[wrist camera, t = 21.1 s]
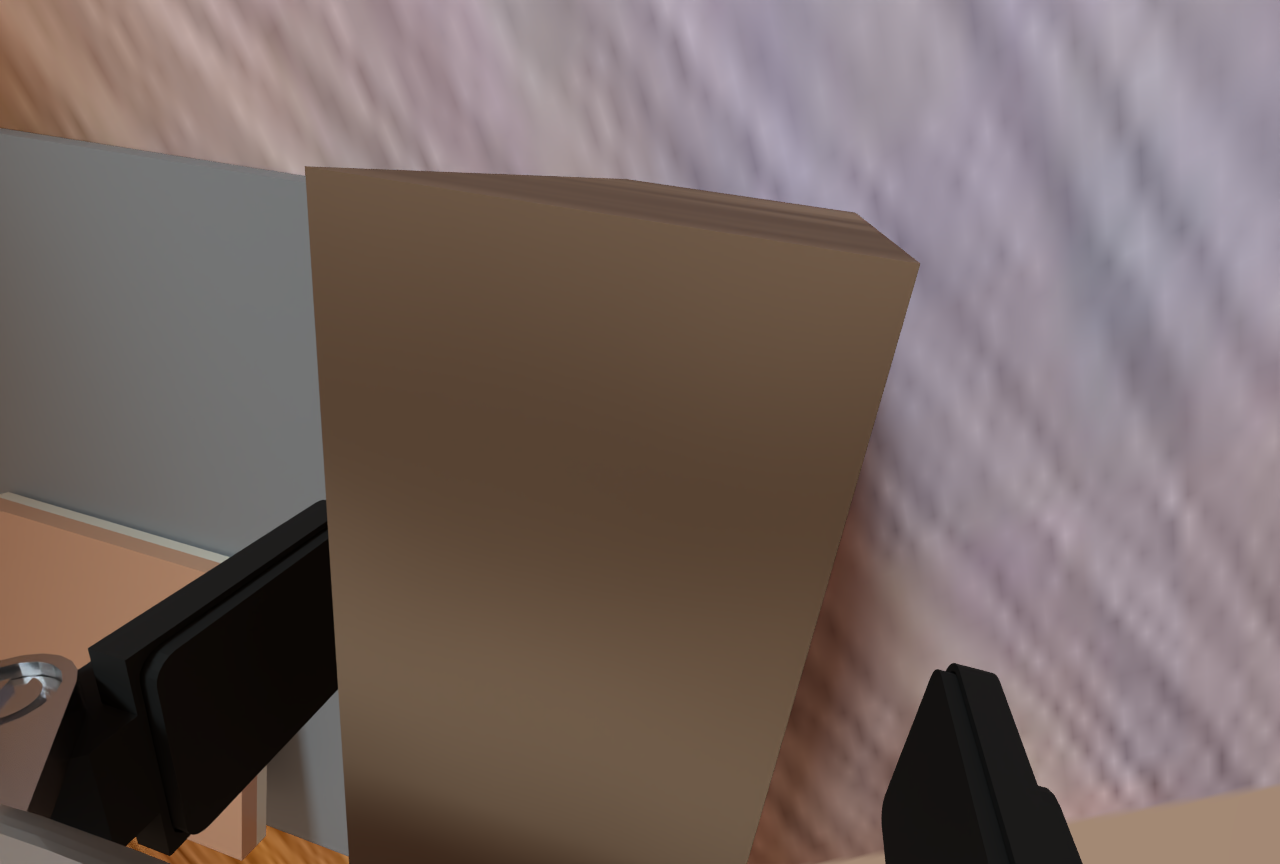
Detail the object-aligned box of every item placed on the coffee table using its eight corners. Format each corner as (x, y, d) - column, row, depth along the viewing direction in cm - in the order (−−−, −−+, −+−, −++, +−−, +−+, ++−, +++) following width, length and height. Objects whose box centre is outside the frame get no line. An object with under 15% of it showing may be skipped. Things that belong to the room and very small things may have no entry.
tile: (1, 764, 23) (33, 746, 24) (241, 860, 21) (265, 835, 22) (-30, 501, 20) (8, 492, 21) (241, 583, 18) (269, 569, 19)
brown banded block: (627, 179, 15) (305, 167, 5) (855, 212, 14) (920, 264, 5) (572, 666, 20) (361, 1065, 11) (732, 714, 19) (650, 1196, 10)
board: (-126, 108, 19) (-199, 101, 18) (418, 194, 16) (381, 194, 14) (46, 699, 28) (6, 725, 27) (420, 836, 25) (397, 875, 23)
